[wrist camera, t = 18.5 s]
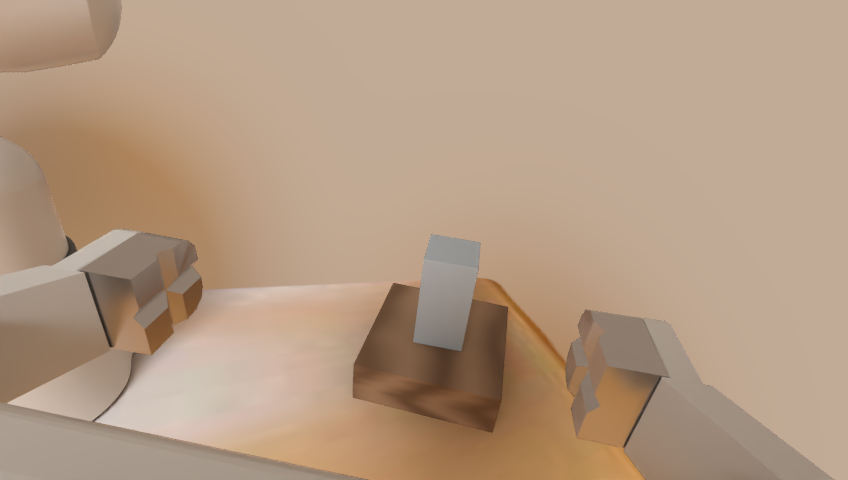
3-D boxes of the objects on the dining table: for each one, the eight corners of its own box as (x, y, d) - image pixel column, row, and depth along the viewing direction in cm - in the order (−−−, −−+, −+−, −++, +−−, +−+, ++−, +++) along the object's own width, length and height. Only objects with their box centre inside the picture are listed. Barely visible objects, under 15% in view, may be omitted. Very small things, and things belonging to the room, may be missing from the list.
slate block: (461, 351, 44) (478, 268, 39) (412, 342, 44) (424, 259, 40) (464, 320, 48) (480, 242, 44) (420, 312, 49) (431, 234, 44)
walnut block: (352, 400, 44) (353, 364, 41) (390, 314, 56) (393, 282, 53) (491, 435, 42) (501, 399, 39) (500, 338, 54) (508, 307, 51)
